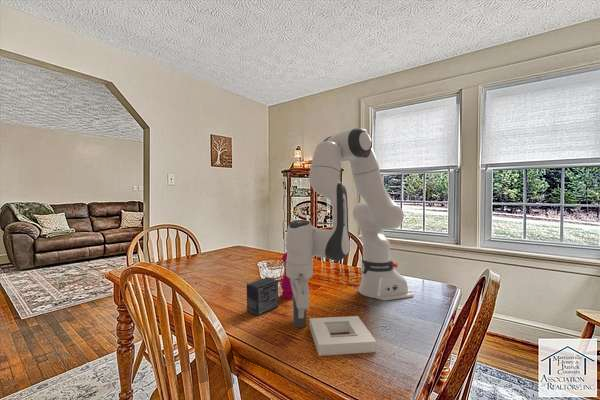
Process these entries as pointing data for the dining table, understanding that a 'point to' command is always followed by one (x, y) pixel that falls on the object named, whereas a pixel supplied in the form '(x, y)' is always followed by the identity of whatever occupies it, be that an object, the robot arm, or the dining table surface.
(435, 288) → the dining table surface
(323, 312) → the dining table surface
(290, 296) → the pepper mill
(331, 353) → the socket
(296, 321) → the plug
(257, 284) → the small box
